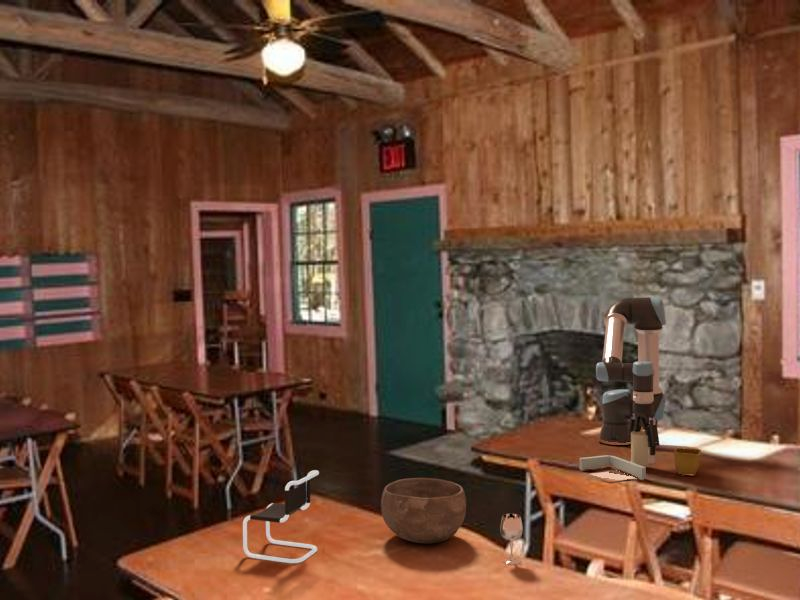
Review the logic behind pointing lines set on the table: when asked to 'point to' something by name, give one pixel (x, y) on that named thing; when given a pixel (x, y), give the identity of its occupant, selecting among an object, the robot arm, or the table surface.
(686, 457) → the flower pot
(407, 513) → the bowl
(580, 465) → the fence
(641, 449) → the can
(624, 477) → the tile
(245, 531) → the chair
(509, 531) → the wineglass
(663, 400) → the robot arm
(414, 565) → the table surface
